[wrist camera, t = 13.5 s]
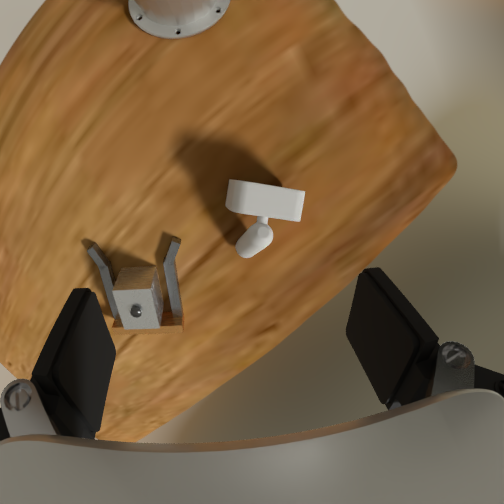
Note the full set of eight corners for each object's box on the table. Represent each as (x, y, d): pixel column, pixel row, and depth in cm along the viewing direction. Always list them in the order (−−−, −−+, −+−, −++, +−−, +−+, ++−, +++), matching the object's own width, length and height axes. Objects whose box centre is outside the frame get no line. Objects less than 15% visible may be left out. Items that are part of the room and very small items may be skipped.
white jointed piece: (216, 252, 42) (222, 275, 33) (226, 178, 40) (236, 179, 31) (271, 258, 44) (292, 281, 35) (283, 187, 42) (309, 192, 32)
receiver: (89, 243, 39) (81, 254, 36) (180, 236, 41) (178, 247, 38) (112, 320, 46) (107, 334, 43) (191, 317, 48) (191, 332, 45)
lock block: (121, 267, 42) (111, 293, 36) (156, 265, 43) (149, 291, 37) (131, 304, 45) (123, 332, 40) (163, 303, 46) (159, 331, 40)
